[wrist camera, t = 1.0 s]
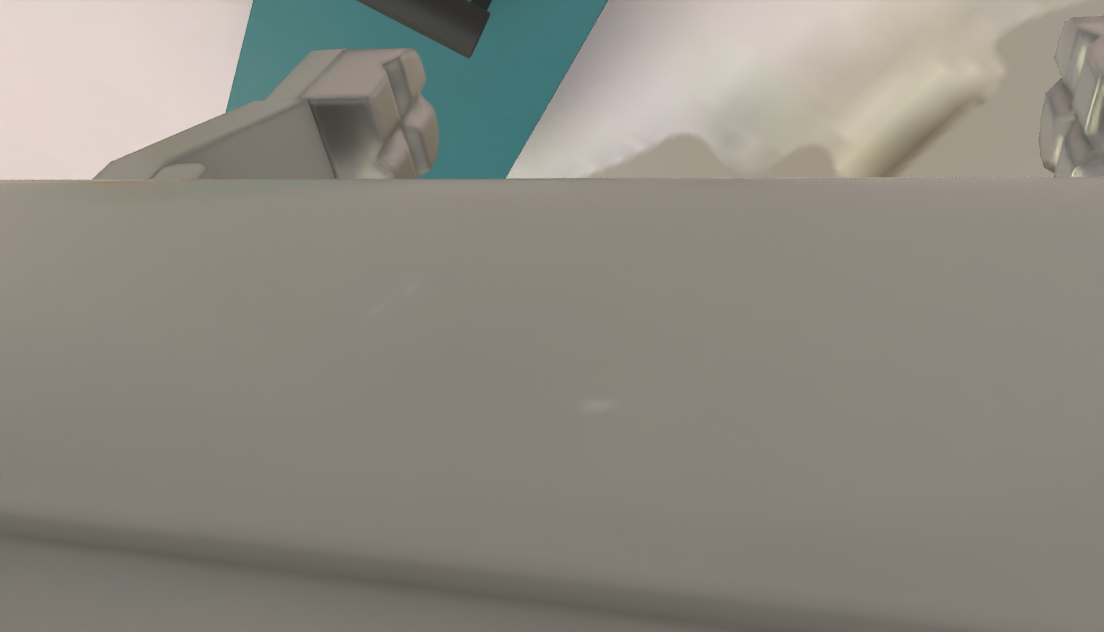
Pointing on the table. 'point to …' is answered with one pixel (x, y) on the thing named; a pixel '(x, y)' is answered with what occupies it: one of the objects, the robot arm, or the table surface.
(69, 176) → the table surface
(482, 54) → the cooler lid
